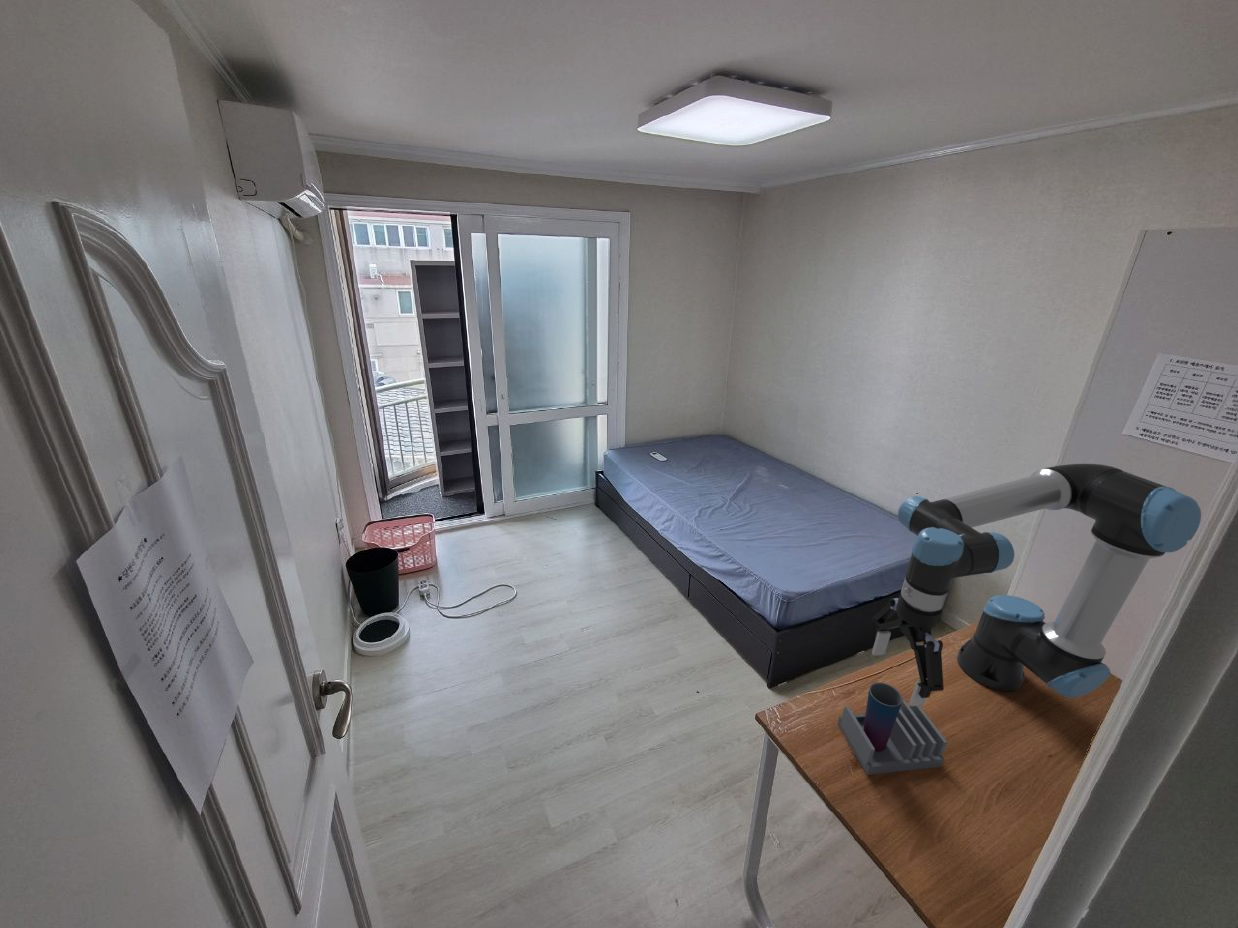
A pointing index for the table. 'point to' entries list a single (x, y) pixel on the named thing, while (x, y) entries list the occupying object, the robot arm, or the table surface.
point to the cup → (881, 713)
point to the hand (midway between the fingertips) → (896, 677)
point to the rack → (896, 742)
